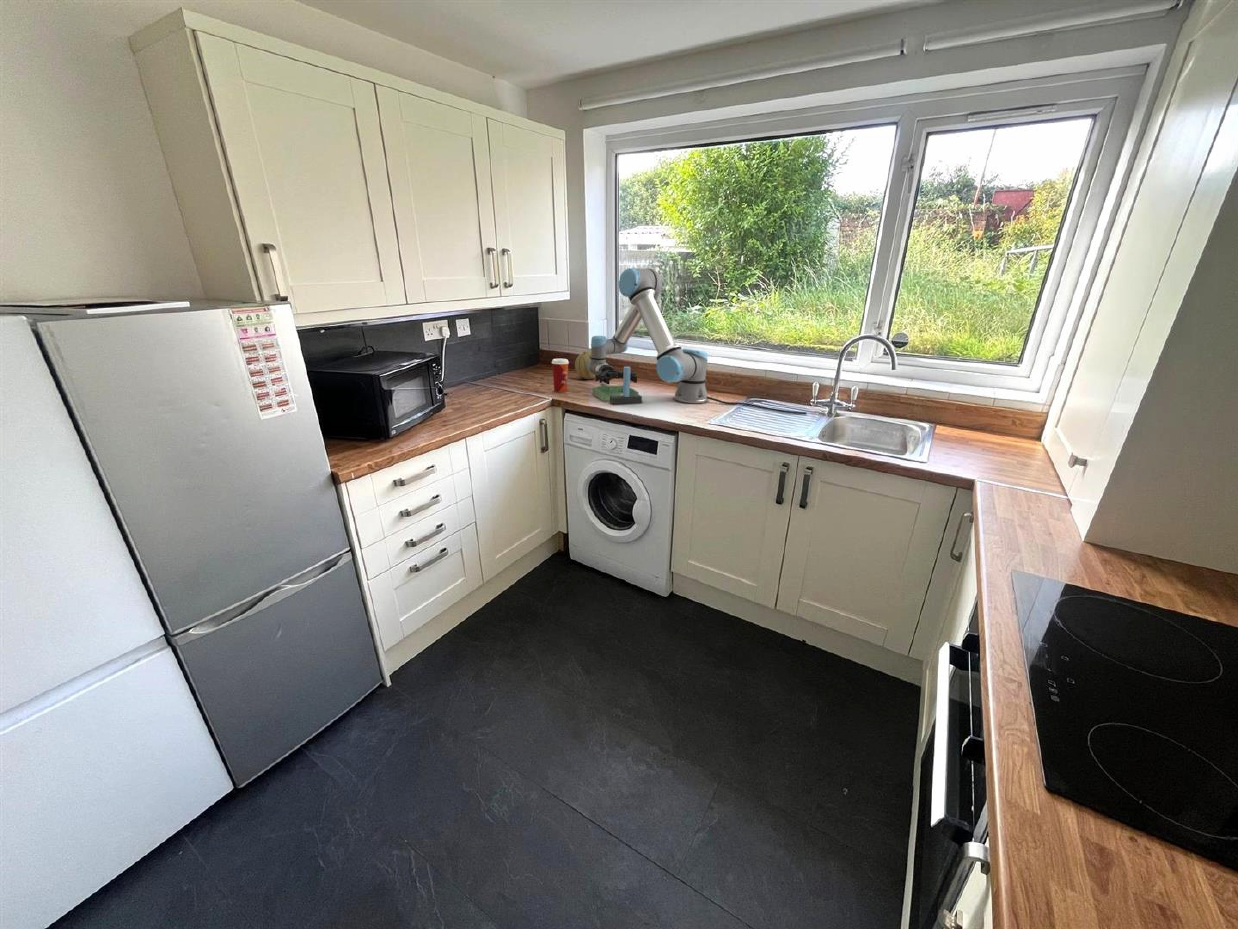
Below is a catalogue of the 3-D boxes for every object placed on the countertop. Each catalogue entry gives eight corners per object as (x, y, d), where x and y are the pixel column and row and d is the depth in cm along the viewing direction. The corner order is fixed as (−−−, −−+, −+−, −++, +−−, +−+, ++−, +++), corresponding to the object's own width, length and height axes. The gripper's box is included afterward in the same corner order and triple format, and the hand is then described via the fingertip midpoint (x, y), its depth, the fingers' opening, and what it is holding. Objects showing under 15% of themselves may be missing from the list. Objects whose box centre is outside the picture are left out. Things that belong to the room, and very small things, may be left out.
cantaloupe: (607, 378, 272) (608, 350, 266) (592, 383, 260) (592, 354, 254) (584, 375, 279) (585, 347, 273) (569, 379, 267) (569, 350, 261)
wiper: (641, 402, 225) (643, 367, 219) (613, 404, 220) (614, 368, 214) (638, 400, 228) (639, 365, 223) (609, 402, 223) (610, 366, 217)
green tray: (638, 398, 231) (638, 391, 230) (603, 401, 225) (603, 394, 224) (617, 387, 252) (618, 381, 251) (585, 389, 246) (585, 382, 245)
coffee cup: (568, 393, 238) (567, 361, 232) (550, 392, 238) (550, 360, 232) (570, 389, 245) (569, 358, 240) (553, 388, 245) (552, 357, 240)
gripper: (628, 378, 249) (647, 387, 231) (581, 380, 239) (596, 390, 221) (628, 363, 246) (647, 371, 228) (581, 364, 237) (596, 373, 218)
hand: (622, 380), depth 224 cm, fingers open, 13 cm apart
